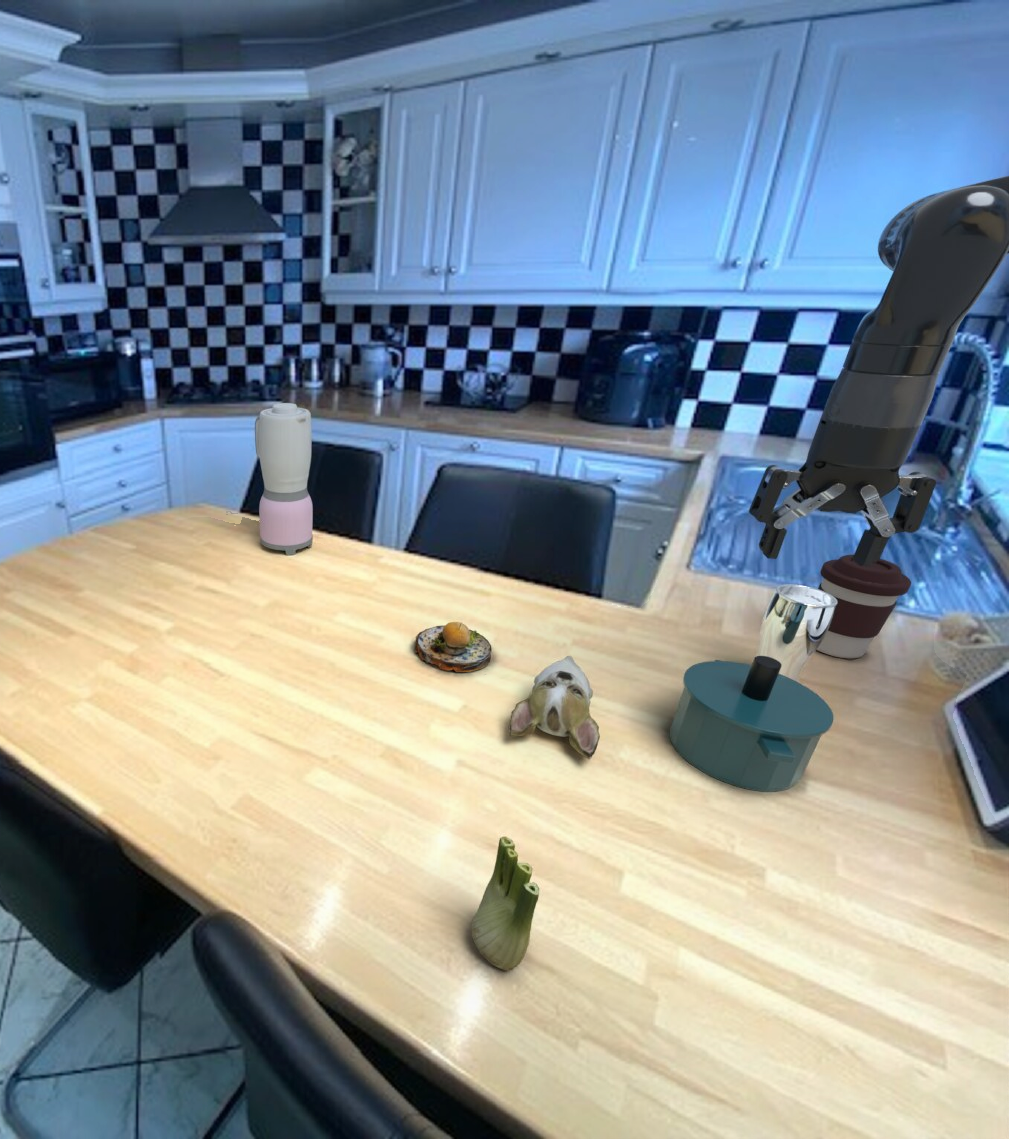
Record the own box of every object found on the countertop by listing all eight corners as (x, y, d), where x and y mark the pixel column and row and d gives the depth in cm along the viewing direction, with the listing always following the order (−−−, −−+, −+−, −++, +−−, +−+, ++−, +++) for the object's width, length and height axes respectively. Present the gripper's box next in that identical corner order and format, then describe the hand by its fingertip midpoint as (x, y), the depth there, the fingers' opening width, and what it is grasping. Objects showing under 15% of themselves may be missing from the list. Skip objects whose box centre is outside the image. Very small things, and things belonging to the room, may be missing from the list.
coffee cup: (802, 624, 106) (835, 544, 100) (880, 648, 99) (921, 563, 93) (786, 646, 101) (819, 562, 94) (867, 672, 94) (910, 584, 87)
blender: (324, 544, 144) (326, 404, 130) (285, 560, 137) (284, 414, 123) (277, 527, 155) (275, 396, 141) (240, 540, 148) (234, 404, 134)
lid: (798, 678, 80) (815, 638, 78) (855, 754, 68) (877, 710, 65) (668, 660, 85) (680, 622, 82) (700, 728, 72) (715, 686, 70)
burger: (494, 641, 105) (500, 603, 101) (486, 680, 95) (493, 639, 92) (422, 628, 109) (425, 590, 106) (408, 663, 100) (411, 623, 97)
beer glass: (812, 700, 88) (853, 608, 82) (757, 696, 89) (793, 605, 83) (782, 671, 95) (818, 584, 88) (731, 668, 96) (763, 582, 89)
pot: (766, 715, 86) (787, 664, 82) (832, 820, 70) (862, 762, 66) (654, 698, 90) (669, 649, 86) (691, 793, 74) (712, 738, 70)
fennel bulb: (525, 987, 55) (549, 896, 50) (466, 968, 56) (483, 877, 51) (524, 928, 60) (546, 840, 54) (471, 912, 61) (487, 824, 56)
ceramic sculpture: (615, 655, 84) (605, 724, 73) (602, 704, 89) (591, 777, 78) (531, 637, 90) (510, 698, 79) (523, 684, 94) (502, 749, 83)
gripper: (937, 411, 64) (874, 553, 71) (772, 406, 69) (728, 541, 76) (987, 427, 58) (912, 581, 65) (802, 421, 62) (750, 567, 69)
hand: (813, 560), depth 70 cm, fingers open, 8 cm apart
